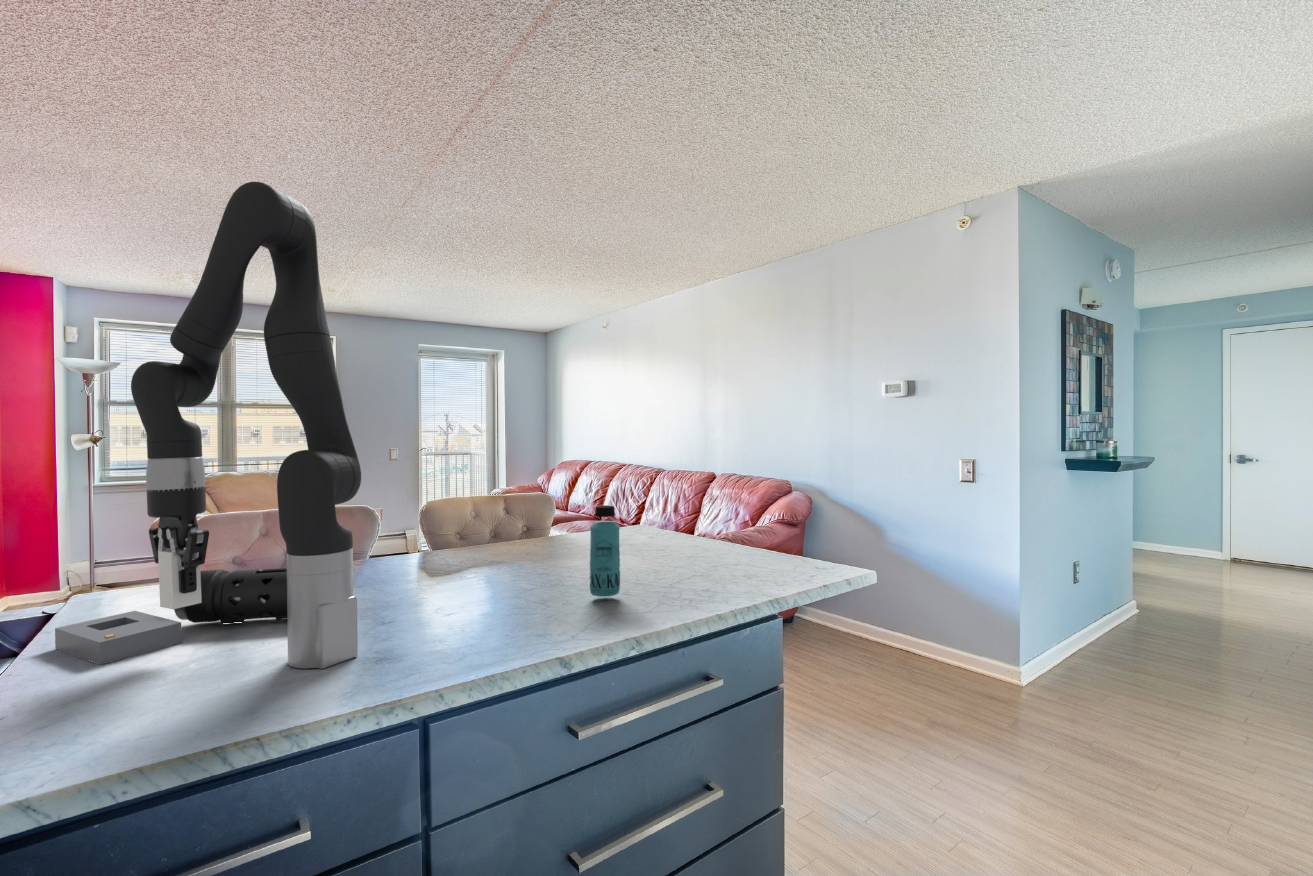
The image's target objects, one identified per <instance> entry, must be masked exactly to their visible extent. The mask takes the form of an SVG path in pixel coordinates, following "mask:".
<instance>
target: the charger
mask: <svg viewBox="0 0 1313 876" xmlns="http://www.w3.org/2000/svg"><path fill="white" fill-rule="evenodd" d="M180 550H186V548H183V549H180ZM197 555H199V552H198V553H197ZM183 557H185V555H184V556H183ZM158 562H159V563H158V582H159V584H158V587H159V607H160V608H164V609H170V610H174V609H177V608H181V607H186V606H190V605H194V604H198V603H202V601H201V574H200V571H201V565H199V567H197V568H196V579H197V589H196V591H194V592H190V593H185V594H183V593H180V592H179V573H178V571H180V570H179V569H178V565H177V557H176V556H174V555H173V552H171V549H169V550H165V551H158Z"/></svg>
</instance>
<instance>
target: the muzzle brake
mask: <svg viewBox="0 0 1313 876" xmlns="http://www.w3.org/2000/svg"><path fill="white" fill-rule="evenodd" d="M200 574H201V601H202V603H198V604H194V605H190V606H186V607H181V608H177V609H173V611H174V613H175V616H176V618H178V619H179V620H181V621H187V620H188V621H189V622H191V623H197V624H198V623H211V622H212V623H213V622H219V621H220V624H221V625H222V624H223V623H234V622H243V621H244V620H245V621H246V620H254V619H255V620H258V619H270V618H271V619H272V618H273V619H276V621H281V620H282V619H283V620H284V619H287V567H286V568H284V567H283V568H271V569H270V568H267V569H266V568H265V569H262V568H261V569H255V568H254V569H241V570H240V569H239V570H233V571H232V572H230V571H228V570H225V569H210V570H209V569H206V570H200ZM245 621H244V622H245ZM244 622H243V623H244Z"/></svg>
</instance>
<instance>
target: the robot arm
mask: <svg viewBox="0 0 1313 876" xmlns="http://www.w3.org/2000/svg"><path fill="white" fill-rule="evenodd" d="M316 233H317V231H316V225H315V221H314V219H313V216H312V214H311V213H310V211H309V209H308V208H307V207H306V206H305V205H304V204H303V203H301V202H300V201H299V200H298V199H295V198H294V197H291V196H290V195H289V194H286V193H285V192H282V191H281V190H279V189H277V188H275V187H273V186H271V185H269V184H267V183H264V182H260V181H249V182H245V183H243V184H241V185H240V186H238V187H237V189H235V190H234V191H233V193H232V194H231V196H230V198H229V200H228V202H227V203H226V206H225V208H224V211H223V214H222V217H221V220H220V223H219V226H218V229H217V231H216V234H215V236H214V240H213V243H212V246H211V249H210V251H209V254H208V258H207V261H206V264H205V267H204V269H203V273H202V275H201V277H200V279H199V283H198V285H197V287H196V289H195V291H194V293H193V295H192V297H191V299H190V301H189V302H188V304H187V306H186V307H185V310H184V311H183V312H182V315H181V316H180V318H179V320H178V322H176V325H175V326H174V329H173V330H172V331H171V334H170V337H169V342H170V344H171V346H172V347H173V348H174V349H175V350H176V351H178V352H179V353H180V354H182V359H181V361H180V363H173V362H167V361H158V360H155V361H154V360H153V361H147V362H143V363H142V364H140V365H139V366H138V367H137V368H136V370H135V371H134V372H133V375H132V378H131V381H130V389H131V390H130V392H131V395H132V399H133V402H134V405H135V407H136V410H137V412H138V415H139V418H140V422H141V423H142V426H143V428H144V432H145V433H146V449H147V452H146V454H147V463H146V470H145V483H146V487H145V488H146V507H147V508H146V511H147V517H150V518H158V520H159V521H158V523H157V525H158V527H153V528H149V529H148V535H149V536H148V537H149V540H150V545H151V550H152V554H153V560H154V563H155V565H156V564H159V562H158V551H165V550H169V549H171V552H173V555H174V556H176V557H177V565H178V569H179V570H180V571H178V573H179V592H180V593H183V594H185V593H190V592H194V591H196V589H197V579H196V568H197V567H199V565H200V566H201V565H205V563H206V556H207V550H208V543H209V537H210V532H209V531H210V530H208V529H199V523H198V521H197V520H198V519H197V515H200V514H203V513H205V512H206V511H207V502H206V501H207V496H206V494H207V492H206V490H207V489H206V470H205V465H204V460H203V441H202V439H203V437H202V430H201V427H200V426H199V425H198V424H197V423H196V422H192V421H188V420H186V419H184V418H183V416H182V414H181V412H180V409H179V408H180V407H181V408H191V407H192V408H193V407H197V406H199V405H201V404H202V403H204V402H205V401H206V400H207V399H208V398H209V397H210V395H211V394H212V392H213V391H214V388H215V385H216V381H217V376H218V371H219V367H220V362H221V356H222V354H223V353H224V351H225V349H226V347H227V346H228V344H229V342H230V340H231V338H232V337H233V335H234V334H235V332H236V331H237V328H238V326H239V324H240V322H241V319H242V315H243V311H244V310H243V309H244V285H245V283H244V282H245V278H246V273H247V272H246V271H247V269H248V267H249V265H250V262H251V260H252V258H253V257H254V255H256V252H258V250H259V249H260V248H261V247H262V248H265V249H266V250H268V252H269V255H270V258H271V260H272V261H271V262H272V266H273V272H274V278H275V290H274V296H273V298H272V301H271V304H270V306H269V308H268V311H267V314H266V317H265V319H264V320H265V321H264V323H263V339H264V345H265V350H266V355H267V361H268V366H269V369H270V372H271V374H272V377H273V379H274V381H275V382H276V385H277V386H278V388H279V389H280V391H281V392H282V394H283V395H284V396H285V398H286V399H287V401H288V403H290V406H292V408H293V409H294V412H295V413H296V414H297V416H298V417H299V420H300V422H301V424H302V428H303V430H304V435H305V439H306V446H307V449H303V450H298V451H295V452H292V453H291V454H289V455H288V456H286V458H285V459H283V461H282V463H281V465H280V467H279V469H278V473H277V478H276V479H277V481H276V494H277V497H276V498H277V507H278V508H277V510H278V523H279V531H280V534H281V537H282V538H283V540H284V542H285V548H286V549H285V550H286V553H285V554H286V568H287V618H286V619H287V620H286V621H287V622H286V624H287V664H288V666H290V667H291V668H294V669H295V668H296V669H325V668H327V667H330V666H334V665H336V664H339V663H341V662H344V661H347V660H349V659H353V658H354V657H355V658H356V657H358V655H359V651H358V650H359V649H358V645H359V644H358V643H359V642H358V641H359V640H358V638H359V637H358V636H359V635H358V599H357V597H356V596H355V595H354V548H353V545H354V544H353V541H354V540H353V533H352V531H351V530H350V529H349V528H347V527H344V526H342V525H340V523H339V522H338V520H337V511H336V505H341V504H344V503H346V502H348V501H351V500H352V499H353V498H354V497H355V496H356V495H357V494H358V492H359V489H360V488H361V483H362V470H361V465H360V461H359V458H358V457H359V456H358V454H357V451H356V447H355V445H354V444H355V443H354V441H353V438H352V435H351V432H350V429H349V424H348V421H347V418H346V413H345V408H344V403H343V399H342V394H341V388H340V385H339V384H340V383H339V379H338V375H337V368H336V361H335V355H334V349H333V345H332V340H331V338H332V337H331V334H330V330H329V326H328V321H327V316H326V310H325V303H324V299H323V293H322V288H321V287H322V286H321V280H320V271H319V261H318V260H319V257H318V241H317V240H318V239H317V234H316ZM183 548H186V550H180V549H183ZM198 552H199V555H197V553H198ZM184 555H185V557H183V556H184Z"/></svg>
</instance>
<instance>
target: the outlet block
mask: <svg viewBox="0 0 1313 876" xmlns="http://www.w3.org/2000/svg"><path fill="white" fill-rule="evenodd" d="M54 637H55V638H54V643H55V648H54V649H55V650H57V649H59V650H58V651H60V650H61V651H60V652H63V651H64V652H63V653H65V652H66V654H68V653H69V655H71V654H73V655H72V656H74V655H75V656H74V657H77V656H79V657H80V659H82V658H84V659H83V660H85V659H86V661H88V660H90V661H89V662H91V661H93V662H95V663H94V664H96V663H98V664H97V665H99V666H101V665H104V663H105V664H108V663H111V661H113V662H115V661H119V660H123V659H127V658H130V657H131V658H132V657H134V656H139V655H141V654H142V655H143V654H145V653H149V652H153V651H157V650H160V649H163V648H168V647H171V646H173V645H179V644H182V642H183V641H182V622H181V621H176V620H173V619H170V618H166V617H165V618H164V617H161V616H157V615H154V614H150V613H145V612H143V611H138V610H132V611H128V612H123V613H118V614H113V615H109V616H104V617H100V618H96V619H91V620H87V621H81V622H78V623H72V624H68V625H64V626H58V627H55V628H54ZM170 645H171V646H170ZM156 649H157V650H156ZM79 657H78V658H79ZM93 662H92V663H93Z"/></svg>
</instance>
